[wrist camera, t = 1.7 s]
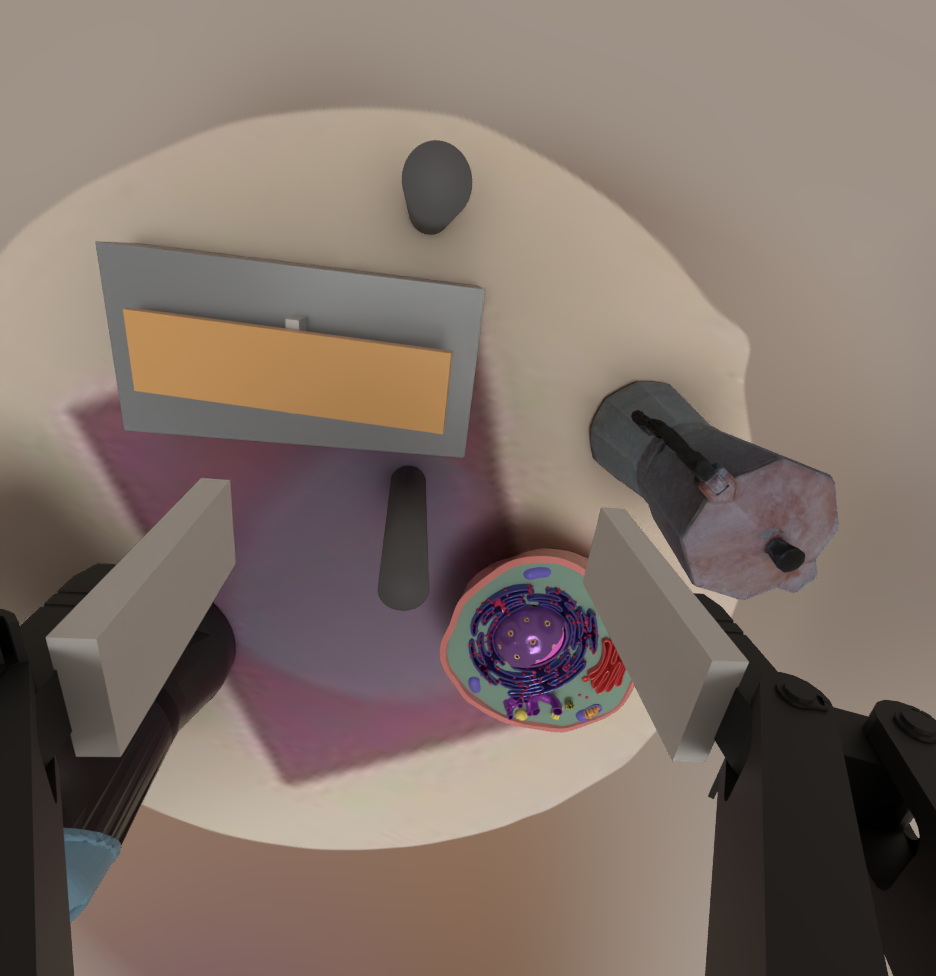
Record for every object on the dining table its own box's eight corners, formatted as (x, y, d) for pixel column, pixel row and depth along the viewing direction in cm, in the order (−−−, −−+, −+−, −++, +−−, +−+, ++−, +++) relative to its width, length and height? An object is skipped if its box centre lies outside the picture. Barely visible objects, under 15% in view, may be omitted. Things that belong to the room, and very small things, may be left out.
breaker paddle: (144, 387, 34) (134, 390, 33) (134, 307, 32) (122, 309, 31) (444, 429, 33) (442, 434, 32) (452, 351, 31) (451, 353, 30)
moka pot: (651, 516, 49) (790, 672, 30) (532, 418, 44) (613, 534, 25) (729, 440, 46) (932, 560, 28) (612, 326, 41) (765, 383, 23)
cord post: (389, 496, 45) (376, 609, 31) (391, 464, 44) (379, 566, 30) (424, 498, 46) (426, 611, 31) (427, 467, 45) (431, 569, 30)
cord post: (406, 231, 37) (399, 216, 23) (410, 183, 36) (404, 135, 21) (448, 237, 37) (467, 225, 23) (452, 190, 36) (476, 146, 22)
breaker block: (157, 410, 41) (106, 441, 34) (136, 243, 36) (72, 240, 29) (459, 436, 44) (467, 469, 37) (477, 285, 39) (489, 291, 32)
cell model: (509, 696, 56) (529, 794, 46) (402, 570, 49) (398, 654, 38) (647, 621, 54) (702, 708, 44) (558, 476, 46) (598, 539, 36)
